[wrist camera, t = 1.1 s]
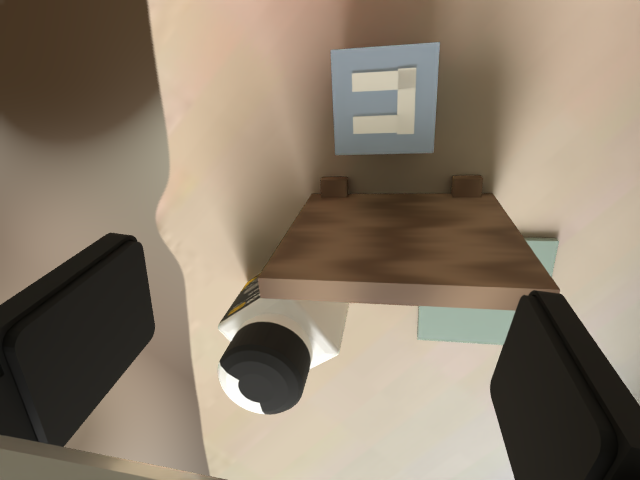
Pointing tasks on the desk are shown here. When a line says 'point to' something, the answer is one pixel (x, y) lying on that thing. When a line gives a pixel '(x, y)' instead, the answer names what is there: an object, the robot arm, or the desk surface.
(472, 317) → the pad
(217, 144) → the desk surface
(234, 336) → the medicine bottle
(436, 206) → the screen
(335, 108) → the letter cube
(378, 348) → the desk surface
